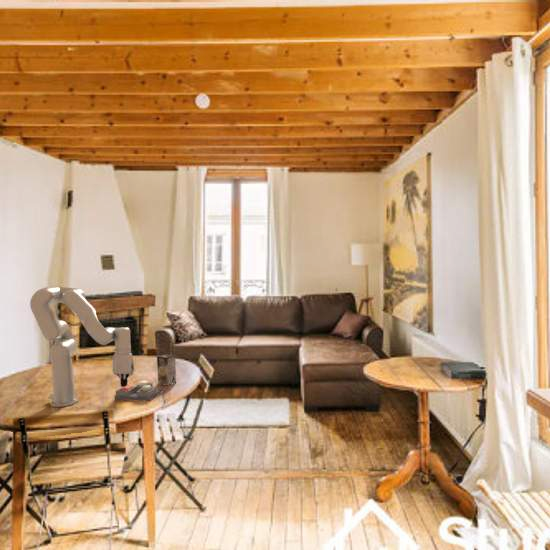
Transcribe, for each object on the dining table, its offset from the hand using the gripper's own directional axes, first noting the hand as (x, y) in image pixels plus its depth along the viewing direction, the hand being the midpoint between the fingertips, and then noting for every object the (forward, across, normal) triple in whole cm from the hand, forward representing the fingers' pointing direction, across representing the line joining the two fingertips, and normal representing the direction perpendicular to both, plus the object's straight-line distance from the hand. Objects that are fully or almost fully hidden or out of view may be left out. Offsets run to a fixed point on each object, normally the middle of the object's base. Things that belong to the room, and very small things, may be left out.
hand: (124, 385), depth 207 cm
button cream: (+2, +7, +7) cm, 10 cm away
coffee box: (+6, +12, +24) cm, 28 cm away
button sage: (+2, +13, 0) cm, 13 cm away
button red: (+3, +1, 0) cm, 3 cm away
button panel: (+6, +7, +4) cm, 10 cm away
